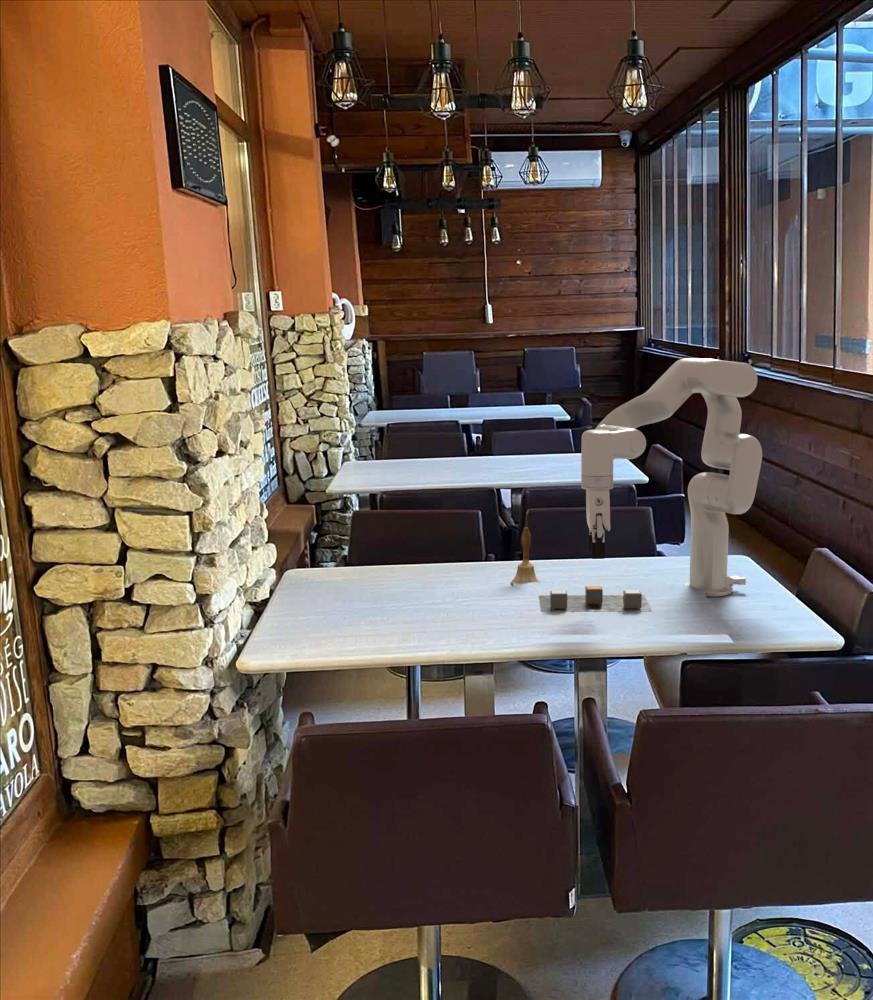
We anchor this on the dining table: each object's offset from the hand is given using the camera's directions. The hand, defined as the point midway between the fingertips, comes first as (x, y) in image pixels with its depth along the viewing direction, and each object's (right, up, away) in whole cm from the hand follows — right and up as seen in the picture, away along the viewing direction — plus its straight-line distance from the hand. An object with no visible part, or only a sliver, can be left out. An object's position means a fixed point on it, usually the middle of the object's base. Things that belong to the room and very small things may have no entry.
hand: (596, 554), depth 228 cm
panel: (+1, -14, +9) cm, 17 cm away
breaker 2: (+10, -13, +4) cm, 17 cm away
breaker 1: (-8, -14, +6) cm, 17 cm away
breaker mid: (+1, -13, +9) cm, 16 cm away
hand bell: (-14, -10, +34) cm, 38 cm away
